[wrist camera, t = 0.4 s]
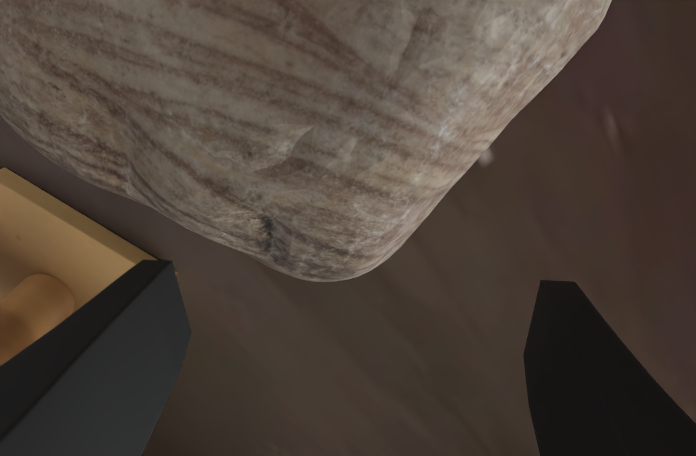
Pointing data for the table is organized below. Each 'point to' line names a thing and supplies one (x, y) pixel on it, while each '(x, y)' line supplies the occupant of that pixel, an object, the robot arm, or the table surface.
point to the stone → (281, 109)
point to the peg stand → (50, 262)
